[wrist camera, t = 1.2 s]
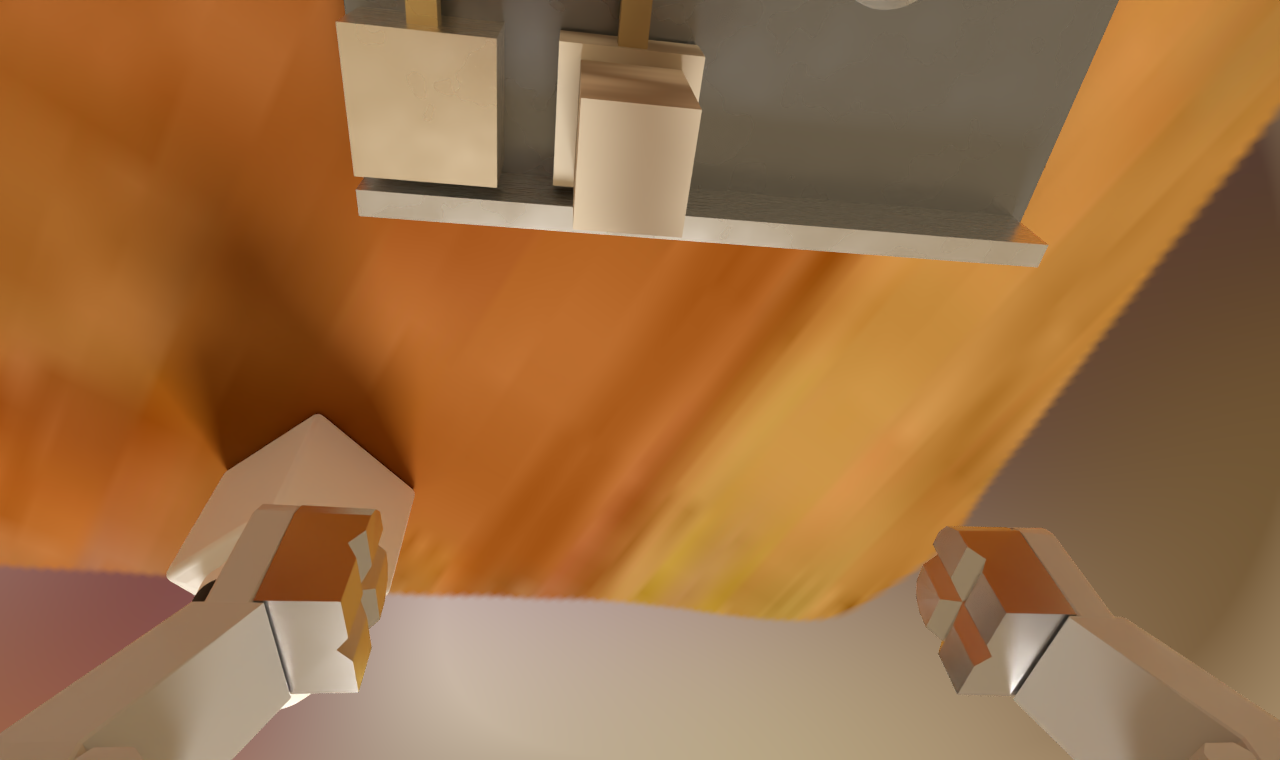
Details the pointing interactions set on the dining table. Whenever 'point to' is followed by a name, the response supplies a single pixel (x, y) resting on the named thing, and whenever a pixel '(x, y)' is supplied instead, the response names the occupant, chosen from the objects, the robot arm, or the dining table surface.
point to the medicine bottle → (292, 499)
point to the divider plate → (737, 116)
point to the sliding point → (627, 126)
